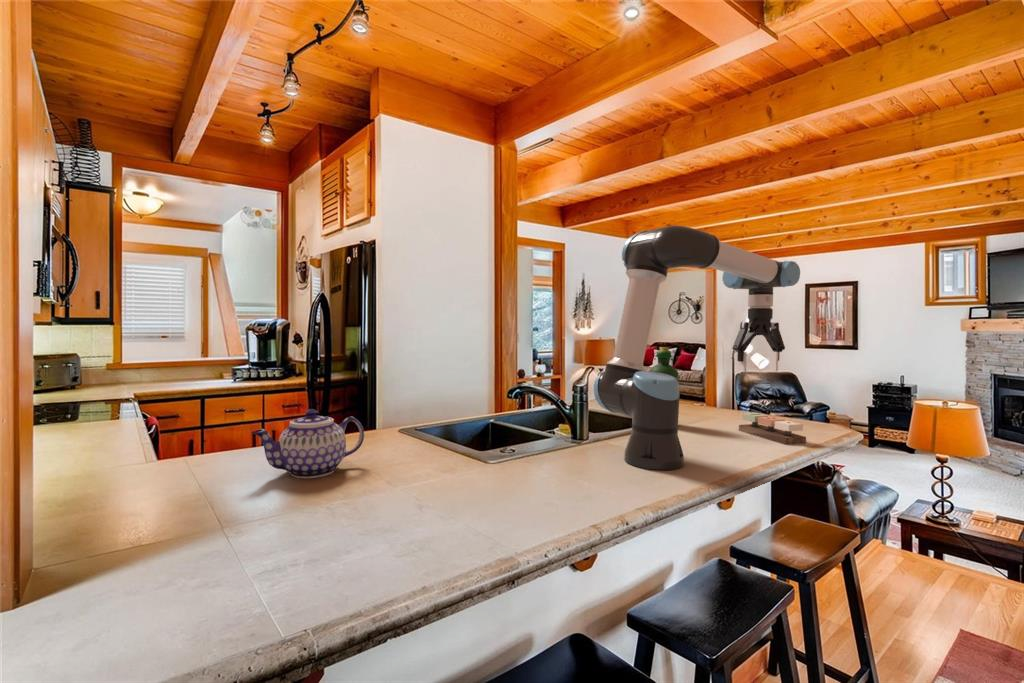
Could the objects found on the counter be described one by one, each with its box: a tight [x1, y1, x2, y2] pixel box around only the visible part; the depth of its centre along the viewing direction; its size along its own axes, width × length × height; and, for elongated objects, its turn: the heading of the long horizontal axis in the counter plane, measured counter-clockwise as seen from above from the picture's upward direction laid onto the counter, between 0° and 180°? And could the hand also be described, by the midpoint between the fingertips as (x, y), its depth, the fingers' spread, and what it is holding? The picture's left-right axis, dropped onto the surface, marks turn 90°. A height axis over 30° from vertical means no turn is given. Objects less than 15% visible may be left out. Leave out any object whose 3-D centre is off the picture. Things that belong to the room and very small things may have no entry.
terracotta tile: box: [758, 416, 786, 432], centre depth 164 cm, size 6×6×4 cm
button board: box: [738, 423, 807, 445], centre depth 165 cm, size 8×20×2 cm, turn 17°
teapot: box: [253, 408, 365, 479], centre depth 118 cm, size 25×15×15 cm, turn 125°
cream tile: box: [774, 420, 804, 437], centre depth 158 cm, size 6×6×4 cm
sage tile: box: [742, 412, 769, 427], centre depth 171 cm, size 6×6×4 cm
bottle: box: [649, 346, 680, 381], centre depth 180 cm, size 11×11×28 cm
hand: (758, 371), depth 170 cm, fingers open, 12 cm apart
